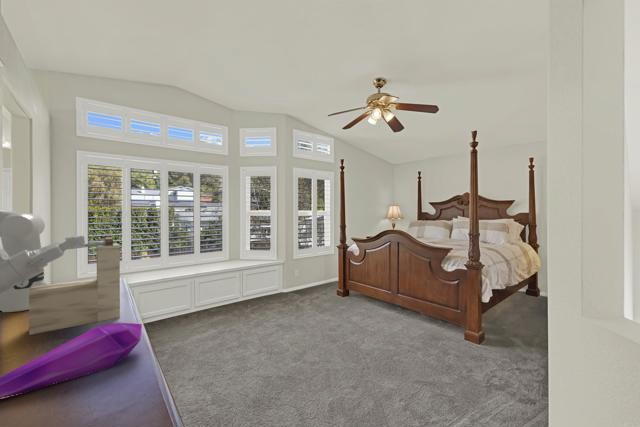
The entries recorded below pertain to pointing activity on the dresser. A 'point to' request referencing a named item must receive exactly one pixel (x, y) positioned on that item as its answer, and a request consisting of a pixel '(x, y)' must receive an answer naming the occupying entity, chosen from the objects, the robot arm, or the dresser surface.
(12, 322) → the dresser surface
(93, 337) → the crystal
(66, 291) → the maple stand
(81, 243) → the steel link
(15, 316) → the dresser surface
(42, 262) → the robot arm
